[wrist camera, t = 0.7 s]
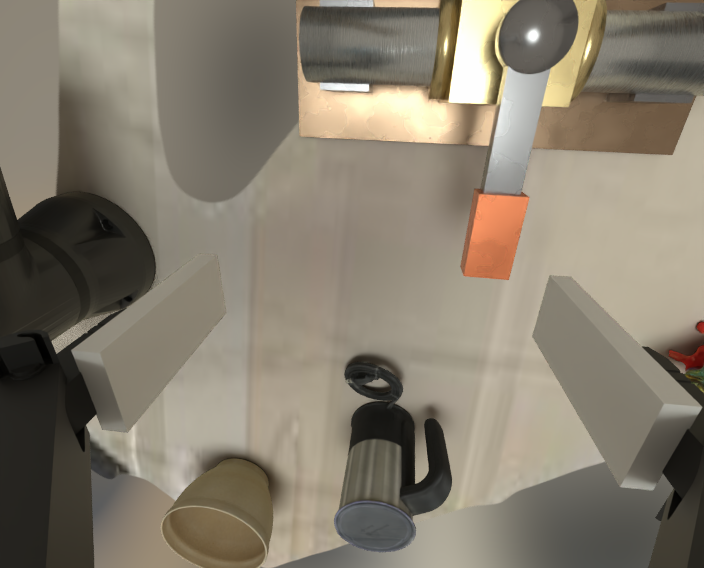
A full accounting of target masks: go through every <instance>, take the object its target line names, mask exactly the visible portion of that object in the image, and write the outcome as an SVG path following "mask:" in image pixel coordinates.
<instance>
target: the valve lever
mask: <svg viewBox="0 0 704 568" xmlns="http://www.w3.org/2000/svg"><path fill="white" fill-rule="evenodd" d="M578 23H579V19H578V11H577V8H576V5H575V3H574V1H573V0H519V1H518V2H516V3H515V4H514V5H513V6H512V7H511V8H510V9H509V10H508V11H507V13H506V14H505V15H504V17H503V18H502V20H501V22H500V24H499V26H498V29H497V32H496V37H495V52H496V56H497V58H498V61H499V62H500V64H501V65H502V67H503V73H502V78H501V83H500V89H499V94H498V99H497V104H496V110H495V115H494V120H493V126H492V131H491V136H490V141H489V147H488V152H487V157H486V162H485V168H484V173H483V178H482V184H481V189H475V190H474V195H473V201H472V206H471V212H470V217H469V222H468V228H467V233H466V239H465V244H464V250H463V255H462V261H461V266H460V267H461V269H462V272H463V275H464V276H469V277H480V278H492V279H504V280H509V277H510V273H511V269H512V265H513V261H514V257H515V253H516V249H517V245H518V241H519V237H520V233H521V229H522V225H523V221H524V217H525V213H526V209H527V205H528V201H529V197H528V196H527V195H526V194H524V193H523V192H521V191H522V187H523V182H524V178H525V174H526V170H527V166H528V162H529V157H530V153H531V149H532V145H533V141H534V136H535V132H536V128H537V124H538V120H539V116H540V111H541V107H542V103H543V99H544V95H545V90H546V86H547V82H548V78H549V74H550V70H551V68H552V67H553V66H555V65H556V64H557V63H559V62H560V61H561V60H562V59H563V58H564V57H565V55H566V54H567V53H568V51H569V50H570V48H571V47H572V45H573V43H574V40H575V38H576V35H577V30H578Z"/></svg>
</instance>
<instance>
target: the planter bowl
mask: <svg viewBox="0 0 704 568" xmlns="http://www.w3.org/2000/svg"><path fill="white" fill-rule="evenodd" d="M268 485H269V482H268V478H267V476H266V474H265V473H264V471H263V470H262V469H261V468H259V467H258V466H257V465H255V464H253V463H251V462H249V461H246V460H243V459H236V458H232V459H226V460H223V461H221V462H220V463H219V464H218V465H217V466H216V467H215V468H213V469H211V470H209V471H207V472H206V473H204V474H202V475H201V476H200V477H198V478H197V479H196V480H195V481H193V482H192V483H191V484H190V485H189V486H188V487H187V488H186V489H185V490H184V491H183V492H182V494H181V495H180V496H179V497H178V499H177V500H176V502H175V503H174V505H173V506H172V508H170V510H169V511H168V512H167V513H166V515H165V516H164V518H163V520H162V523H161V533H162V536H163V538H164V540H165V542H166V543H167V544H168V546H169V547H170V548H171V549H172V550H173V551H174V552H175V553H176V554H177V555H179V556H180V557H181V558H183V559H184V560H186V561H188V562H190V563H192V564H194V565H196V566H198V567H200V568H260V567H261V566H262V565H263V564H264V562H265V561H266V558H267V555H268V549H269V542H270V538H271V533H272V526H273V507H272V500H271V496H270V493H269V490H268Z"/></svg>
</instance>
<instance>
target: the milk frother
mask: <svg viewBox="0 0 704 568" xmlns="http://www.w3.org/2000/svg"><path fill="white" fill-rule="evenodd" d="M379 378H381V379H383V380H385V381H386V382H387V383H389V385H390V386H391V391H389V392H376V391H372V390H369V389H367V388H365V387H363V386H361V385H364V384H367V383H369V382H372V381H373V380H378V379H379ZM345 379H346V383H348V384H349V385H350V387H351V388H352V389H353V390H355V391H356V392H357V393H359V394H361V395H363V396H366V397H368V398H372V399H376V400H383V401H387V400H392V401H391V402H390V403H385V402H374V403H370V404H366V405H364V406H362V407H360V408H359V409H358V410H357V411H356V412H355V413H354V415H353V417H352V421H351V426H352V433H351V440H350V447H349V453H348V459H347V465H346V470H345V476H344V482H343V488H342V494H341V500H340V506H339V510H338V512H337V513H336V515H335V518H334V524H335V528H336V530H337V533H338V534H339V535H340V536H341V538H343V539H344V540H345V541H347V542H349V543H350V544H352V545H354V546H356V547H358V548H361V549H364V550H367V551H374V552H391V551H396V550H400V549H402V548H405V547H406V546H408V545H409V544H410V543H411V542H412V541H413V540H414V538H415V535H416V527H415V525H414V523H413V516H414V515H418V514H422V513H426V512H430V511H433V510H434V509H436V508H438V507H439V506H441V505H442V504H443V503H444V501H445V500H446V499H447V497H448V495H449V493H450V490H451V486H452V476H451V470H450V465H449V459H448V454H447V449H446V444H445V439H444V434H443V430H442V428H441V426H440V425H439V423H438V422H437V420H435V419H434V418H429V419H427V420H426V421H425V424H424V427H425V437H426V445H427V455H428V463H429V471H428V474H427V476H426V477H425V478H424V479H423V480H422V481H421V482H419V483H417V484H415V433H414V430H415V427H414V422H413V420H412V418H411V416H410V415H409V414H408V413H407V412H406V411H405V410H404V409H402V408H401V407H399V406H396V405H394V403H395V402H396V401H397V400H398V399H399V398H400V397H401V395H402V392H403V386H402V384H401V382H400V380H399V379H398V378H397V377H396V376H395V375H393V374H392V373H391V372H389V371H387V370H385V369H383V368H381V367H379V366H376V365H373V364H370V363H364V362H355V363H352V364H350V365H349V366H348V367H347V368H346V370H345Z"/></svg>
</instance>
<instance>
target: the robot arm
mask: <svg viewBox="0 0 704 568" xmlns="http://www.w3.org/2000/svg"><path fill="white" fill-rule="evenodd" d="M154 274H155V263H154V257H153V253H152V250H151V247H150V245H149V243H148V241H147V239H146V237H145V235H144V234H143V232H142V230H141V229H140V228H139V226H138V225H137V224H136V223H135V222H134V220H133V219H132V218H131V217H130V216H129V215H128V214H126V213H125V212H124V211H123V210H122V209H120V208H119V207H118V206H116V205H115V204H113V203H111V202H110V201H108V200H106V199H104V198H101V197H99V196H96V195H93V194H89V193H82V192H71V193H66V194H62V195H58V196H54V197H51V198H48V199H46V200H44V201H42V202H40V203H38V204H37V205H36V206H35V207H33V208H32V209H31V210H30V211H28V212H27V213H26V214H24V215H23V216H22V217H21V218H19V219H18V220H17V218H16V215H15V212H14V209H13V206H12V203H11V200H10V197H9V194H8V190H7V187H6V184H5V181H4V178H3V174H2V171H1V168H0V568H94V545H93V520H92V519H93V517H92V488H91V459H90V434H89V431H88V429H87V427H86V424H87V423H88V422H89V421H90V420H91V419H92V418H93V417H94V416H95V415H97V418H98V420H99V423H100V425H101V428H102V430H108V431H118V432H127V433H128V432H129V430H130V429H131V428H132V427H133V426H134V424H135V423H136V422H137V421H138V419H139V418H140V417H141V416H142V415H143V413H144V412H145V411H146V410H147V408H148V407H149V406H150V405H151V404H152V402H153V401H154V400H155V399H156V398H157V396H158V395H159V394H160V393H161V391H162V390H163V389H164V388H165V387H166V385H167V384H168V383H169V382H170V380H171V379H172V378H173V377H174V376H175V374H176V373H177V372H178V371H179V369H180V368H181V367H182V366H183V365H184V363H185V362H186V361H187V360H188V359H189V357H190V356H191V355H192V354H193V352H194V351H195V350H196V349H197V348H198V346H199V345H200V344H201V343H202V341H203V340H204V339H205V338H206V337H207V335H208V334H209V333H210V332H211V331H212V329H213V328H214V327H215V326H216V324H217V323H218V322H219V321H220V320H221V318H222V317H223V316H224V315H225V313H226V308H225V302H224V295H223V289H222V282H221V276H220V269H219V263H218V256H217V255H214V254H198V255H197V256H196V257H194V258H193V259H192V260H190V261H189V262H188V263H186V264H185V265H184V266H182V267H181V268H180V269H178V270H177V271H176V272H174V273H173V274H172V275H170V276H169V277H168V278H166V279H165V280H164V281H162V282H161V283H160V284H158V285H157V286H156V287H154V288H153V289H152V290H150V291H149V292H148V293H147V291H148V290H149V289H150V287H151V285H152V282H153V279H154ZM138 299H139V300H138ZM134 302H135V303H134ZM130 305H131V306H130ZM128 306H129V307H128ZM126 307H128V308H126ZM121 309H122V310H121ZM118 310H120V311H118ZM115 311H118V312H116V313H113V314H111V315H109V316H108V317H106V318H105V319H104V320H102V321H101V322H100V323H98V325H97V326H94V327H93V328H91V329H90V330H89V331H88V333H85V334H83V335H82V336H81V337H79V338H78V339H76V340H75V341H74V342H72V343H71V344H70V345H68V346H67V347H66V348H64V349H63V350H61V351H60V352H59V353H57V354H56V352H55V350H54V347H53V345H52V342H51V341H52V340H54V339H55V338H57V337H58V336H60V335H61V334H62V333H64V332H65V331H67V330H68V329H70V328H71V327H73V326H74V325H76V324H77V323H79V322H80V321H82V320H85V319H88V318H92V317H96V316H100V315H103V314H107V313H111V312H115ZM532 337H533V338H534V340H535V342H536V343H537V345H538V347H539V349H540V350H541V352H542V354H543V355H544V357H545V359H546V361H547V362H548V364H549V366H550V367H551V369H552V371H553V373H554V374H555V376H556V378H557V379H558V381H559V383H560V385H561V386H562V388H563V390H564V391H565V393H566V395H567V397H568V398H569V400H570V402H571V404H572V405H573V407H574V409H575V410H576V412H577V414H578V416H579V417H580V419H581V421H582V422H583V424H584V426H585V428H586V429H587V431H588V433H589V434H590V436H591V438H592V440H593V441H594V443H595V445H596V446H597V448H598V450H599V452H600V453H601V455H602V457H603V458H604V460H605V462H606V464H607V465H608V467H609V469H610V470H611V472H612V474H613V476H614V477H615V479H616V481H617V482H618V484H619V486H620V487H627V488H635V489H645V490H653V489H654V488H655V486H656V485H657V483H658V481H659V479H660V478H661V476H662V474H664V475H665V477H666V478H667V479H668V481H669V482H670V483H671V485H672V486H673V487H674V489H673V491H672V492H671V494H670V496H669V497H668V499H667V500H666V502H665V503H664V505H663V507H662V508H661V510H660V511H659V513H658V515H657V516H656V519H658V520H659V521H661V524H660V528H659V532H658V535H657V538H656V542H655V546H654V549H653V553H652V556H651V561H650V564H649V567H648V568H704V393H703V392H702V391H701V390H700V389H699V388H698V387H697V386H696V385H695V384H691V380H689V379H688V378H687V377H686V376H685V375H684V374H683V373H680V370H679V369H678V368H677V367H676V366H675V365H674V364H672V363H671V362H670V361H669V360H668V359H667V358H666V357H664V356H662V355H661V354H659V353H657V352H656V351H654V350H652V349H651V348H649V347H641V346H640V345H639V344H638V343H637V342H636V341H635V340H634V339H633V338H632V337H631V336H630V335H629V334H628V333H627V332H626V331H625V330H624V329H623V328H622V327H621V326H620V325H619V324H618V323H617V322H616V321H615V320H614V319H613V318H612V317H611V316H610V315H609V314H608V313H607V312H606V311H605V310H604V309H603V308H602V307H601V306H600V305H599V304H598V303H597V302H596V301H595V300H594V299H593V298H592V297H591V296H590V295H589V294H588V293H587V292H586V291H585V290H584V289H583V288H582V287H581V286H580V285H579V284H578V283H577V282H576V281H575V280H574V279H573V278H572V277H568V276H552V275H550V276H549V279H548V283H547V286H546V290H545V293H544V297H543V300H542V304H541V307H540V311H539V314H538V318H537V321H536V325H535V328H534V332H533V335H532Z"/></svg>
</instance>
